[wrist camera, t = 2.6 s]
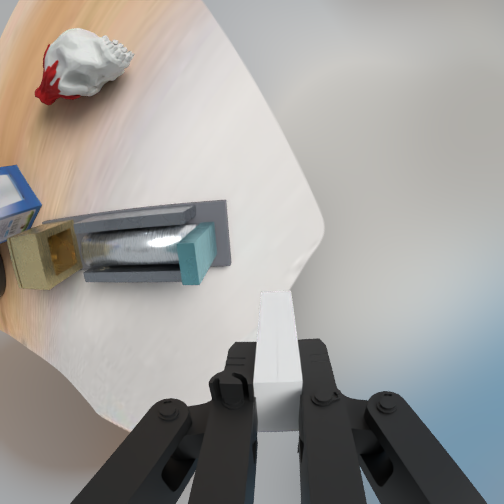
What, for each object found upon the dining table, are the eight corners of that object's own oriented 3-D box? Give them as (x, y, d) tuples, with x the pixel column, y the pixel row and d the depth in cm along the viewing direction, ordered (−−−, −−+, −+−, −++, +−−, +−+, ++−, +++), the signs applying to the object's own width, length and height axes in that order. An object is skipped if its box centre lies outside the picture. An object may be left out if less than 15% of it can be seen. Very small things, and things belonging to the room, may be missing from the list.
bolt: (101, 259, 32) (63, 285, 24) (96, 229, 31) (54, 249, 23) (217, 255, 31) (199, 286, 23) (213, 219, 30) (193, 240, 22)
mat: (55, 267, 36) (52, 269, 35) (46, 220, 34) (42, 222, 33) (231, 262, 34) (230, 265, 33) (226, 199, 32) (224, 200, 31)
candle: (149, 67, 27) (71, 132, 31) (124, 14, 24) (54, 78, 28) (105, 49, 18) (25, 135, 23) (84, -7, 15) (12, 74, 20)
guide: (52, 268, 35) (19, 288, 27) (42, 223, 33) (6, 237, 25) (202, 264, 33) (183, 294, 26) (195, 204, 31) (172, 217, 23)
